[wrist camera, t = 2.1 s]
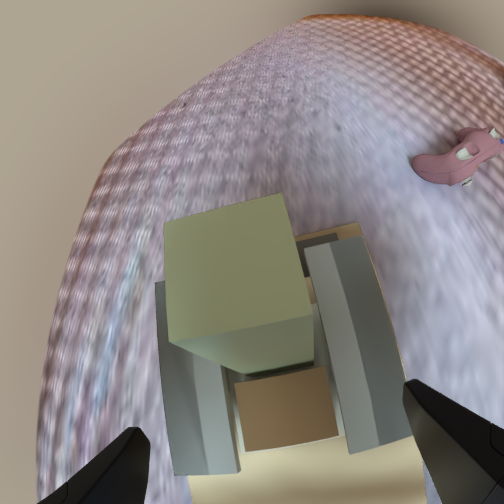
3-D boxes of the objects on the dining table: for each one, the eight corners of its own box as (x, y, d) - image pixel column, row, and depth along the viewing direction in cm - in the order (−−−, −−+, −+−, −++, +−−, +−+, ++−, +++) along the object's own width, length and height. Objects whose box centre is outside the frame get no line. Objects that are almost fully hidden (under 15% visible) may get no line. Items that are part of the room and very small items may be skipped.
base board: (425, 542, 12) (429, 547, 11) (216, 577, 13) (212, 582, 12) (356, 228, 25) (358, 221, 24) (170, 272, 26) (164, 266, 25)
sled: (350, 431, 17) (407, 479, 5) (244, 451, 18) (144, 508, 6) (322, 305, 21) (327, 182, 10) (225, 327, 22) (125, 233, 10)
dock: (391, 426, 17) (416, 433, 12) (207, 460, 18) (174, 475, 13) (352, 272, 22) (361, 234, 17) (187, 309, 23) (155, 282, 19)
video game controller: (428, 204, 26) (474, 187, 19) (404, 163, 26) (445, 135, 19) (479, 166, 27) (520, 147, 20) (459, 131, 27) (496, 106, 20)
